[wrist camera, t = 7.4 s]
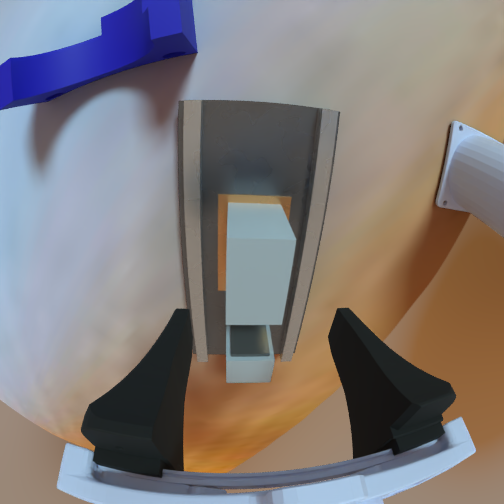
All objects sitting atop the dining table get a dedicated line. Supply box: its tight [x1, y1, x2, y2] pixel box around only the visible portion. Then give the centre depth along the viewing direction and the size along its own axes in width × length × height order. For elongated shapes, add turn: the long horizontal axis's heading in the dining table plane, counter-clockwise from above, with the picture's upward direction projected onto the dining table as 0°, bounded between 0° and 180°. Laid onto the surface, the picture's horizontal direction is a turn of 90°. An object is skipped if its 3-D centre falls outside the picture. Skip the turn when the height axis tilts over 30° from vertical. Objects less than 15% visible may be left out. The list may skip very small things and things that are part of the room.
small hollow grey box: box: [226, 325, 275, 383], centre depth 22 cm, size 4×3×5 cm
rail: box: [178, 100, 340, 362], centre depth 21 cm, size 10×22×2 cm, turn 177°
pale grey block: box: [226, 202, 296, 325], centre depth 18 cm, size 4×6×5 cm, turn 176°
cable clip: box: [0, 0, 198, 110], centre depth 11 cm, size 12×4×6 cm, turn 96°
